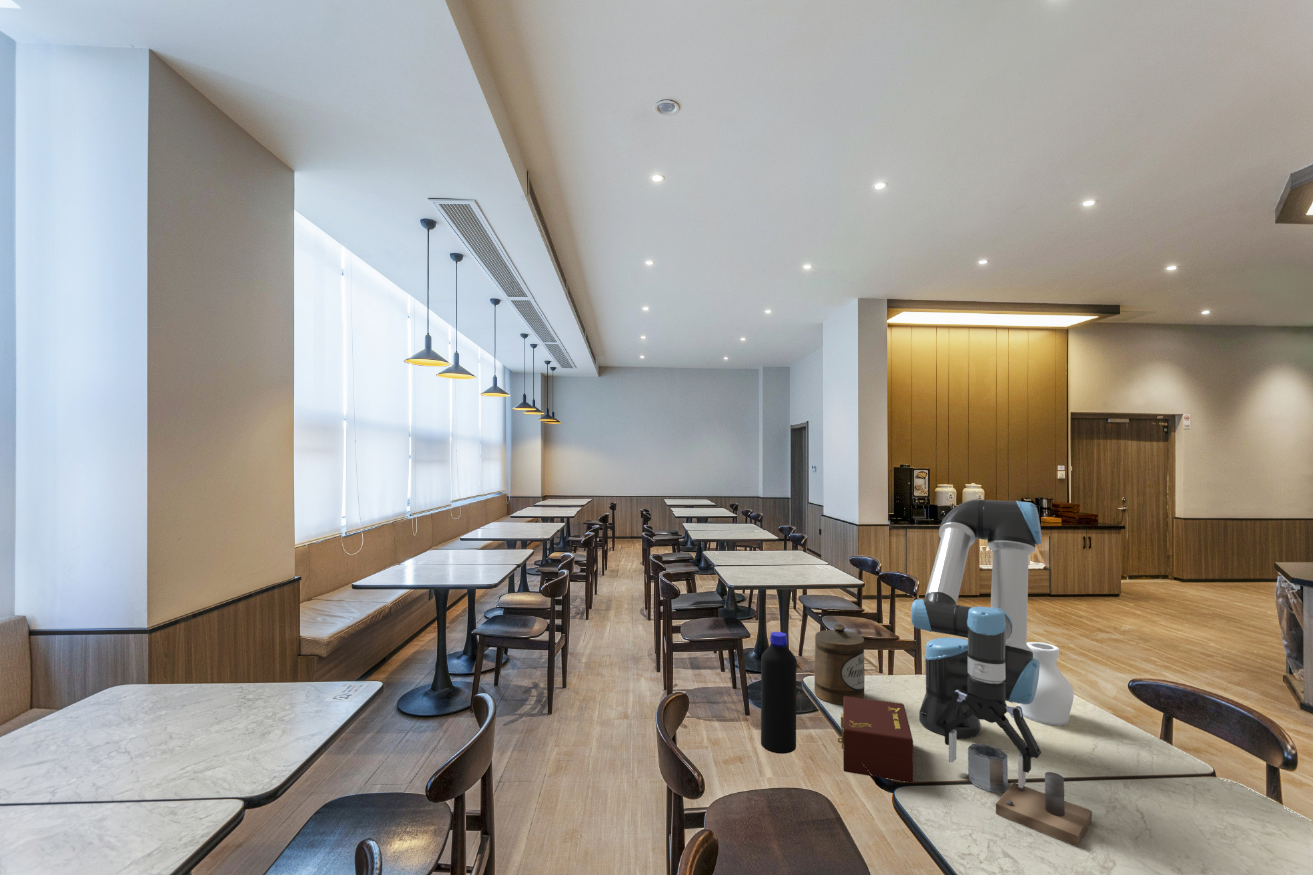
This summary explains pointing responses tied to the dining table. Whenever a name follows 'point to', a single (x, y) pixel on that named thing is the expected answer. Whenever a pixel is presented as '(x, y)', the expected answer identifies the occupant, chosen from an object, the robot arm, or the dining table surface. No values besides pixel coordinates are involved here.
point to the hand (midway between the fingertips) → (986, 773)
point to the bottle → (778, 696)
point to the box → (876, 739)
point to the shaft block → (1046, 810)
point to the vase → (1049, 689)
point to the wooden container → (839, 665)
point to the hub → (988, 767)
